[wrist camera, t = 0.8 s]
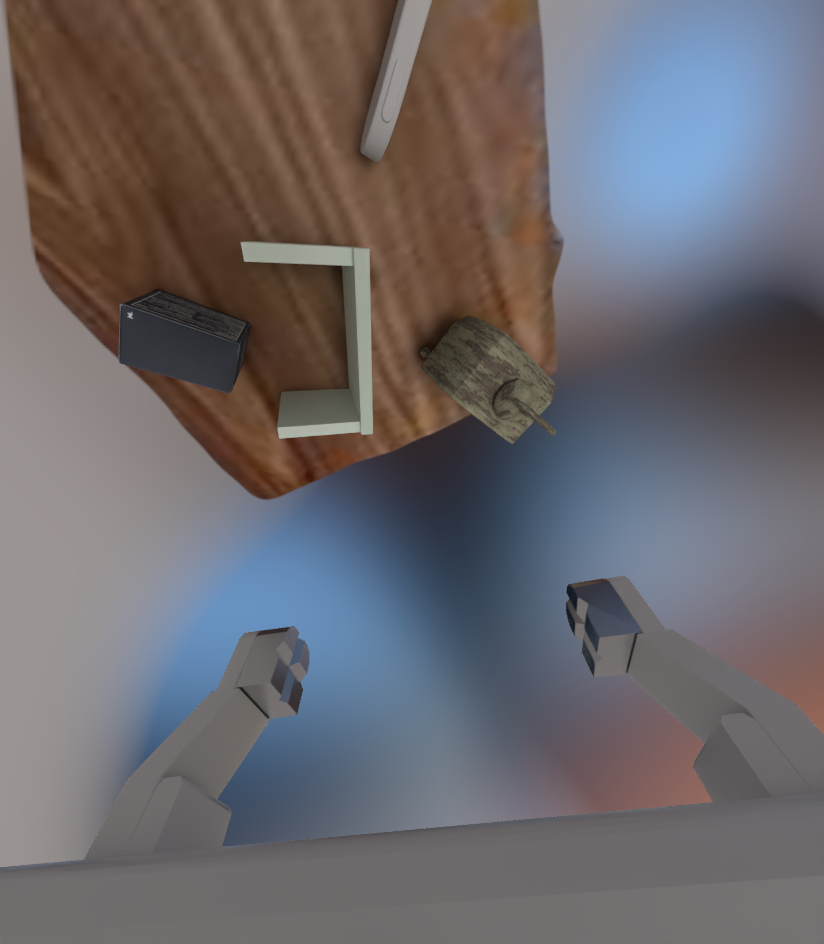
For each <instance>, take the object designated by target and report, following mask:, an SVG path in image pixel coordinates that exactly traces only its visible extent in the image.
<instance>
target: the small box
mask: <svg viewBox="0 0 824 944" xmlns="http://www.w3.org/2000/svg"><path fill="white" fill-rule="evenodd" d="M119 307H120V313H119V314H120V318H119V357H118V358H119V360H118V361H119V363H121V364H125V365H128V366H132V367H135V368H139V369H143V370H146V371H150V372H154V373H157V374H161V375H165V376H168V377H172V378H176V379H180V380H183V381H187V382H190V383H194V384H197V385H201V386H205V387H208V388H212V389H215V390H219V391H222V392H226V393H231V392H232V389H233V386H234V384H235V382H236V379H237V377H238V374H239V372H240V369H241V367H242V365H243V361H244V356H245V351H246V346H247V342H248V337H249V332H250V327H251V325H250V323H248V322H245V321H242V320H240V319H237V318H234V317H232V316H229V315H226V314H224V313H222V312H218V311H216V310H213V309H210V308H208V307H205V306H202V305H200V304H197V303H195V302H192V301H189V300H186V299H184V298H181V297H178V296H175V295H173V294H170V293H167V292H164V291H162V290H159V289H155V290H153V291H152V292H150V293H148V294H145V295H143V296H141V297H138V298H136V299H133V300H131V301H128V302H126V303H124V304H120V306H119Z"/></svg>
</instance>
